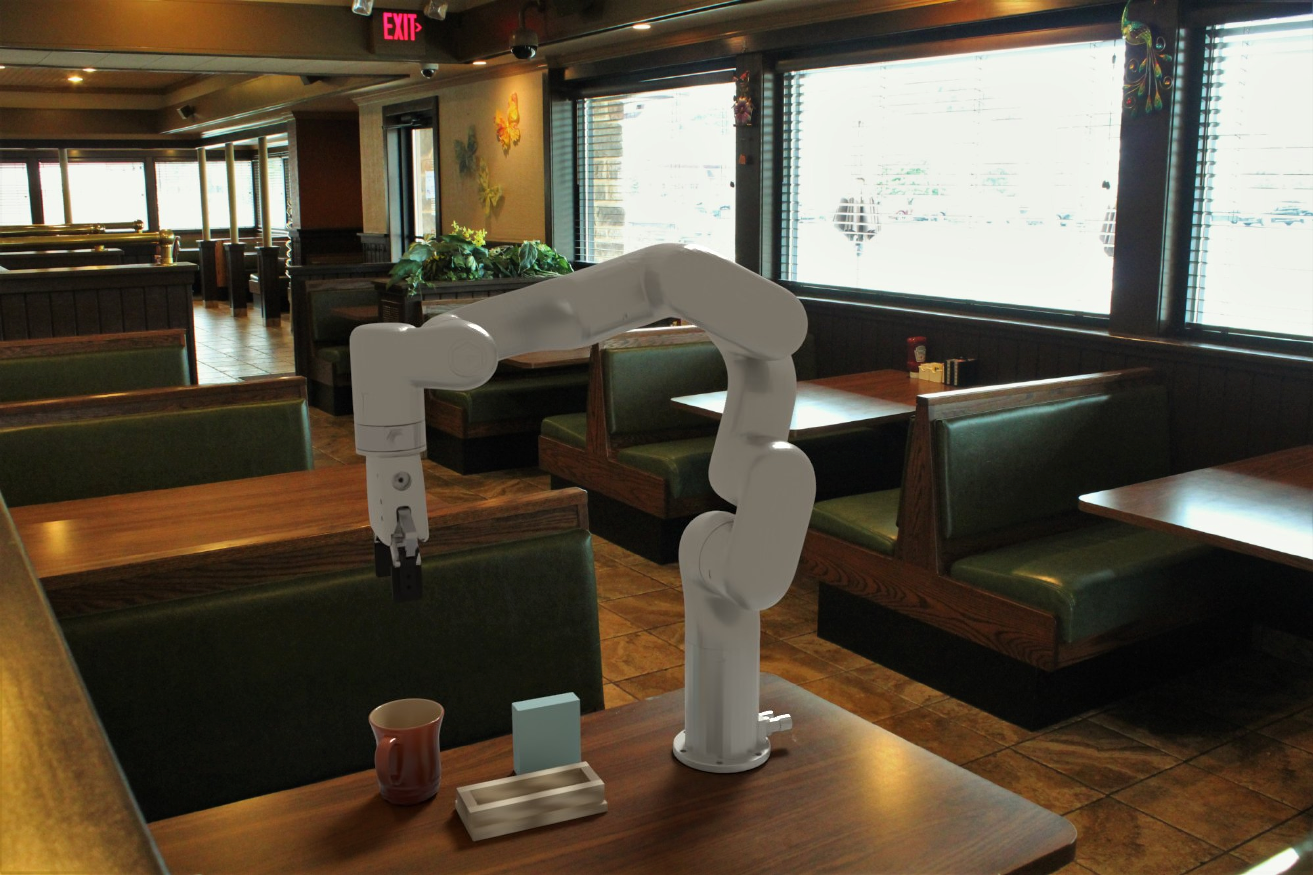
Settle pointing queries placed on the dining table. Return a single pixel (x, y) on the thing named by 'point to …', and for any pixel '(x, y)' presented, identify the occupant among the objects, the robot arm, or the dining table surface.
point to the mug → (407, 749)
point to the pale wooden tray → (530, 800)
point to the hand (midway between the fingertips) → (398, 587)
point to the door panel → (546, 733)
